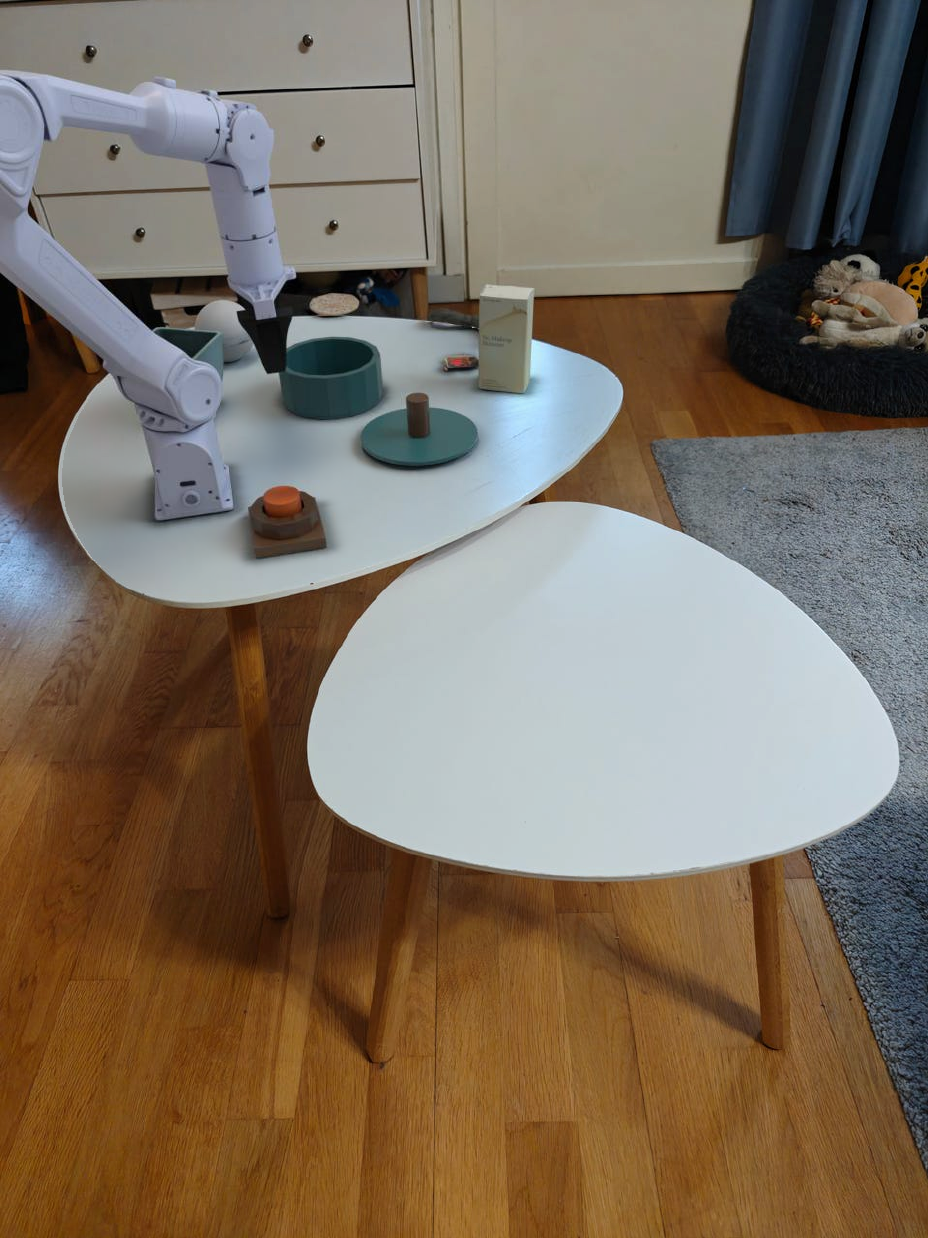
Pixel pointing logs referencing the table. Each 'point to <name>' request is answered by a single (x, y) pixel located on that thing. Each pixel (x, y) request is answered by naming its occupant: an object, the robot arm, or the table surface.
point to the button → (282, 501)
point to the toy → (454, 318)
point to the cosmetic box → (505, 338)
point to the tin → (331, 377)
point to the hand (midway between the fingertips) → (272, 356)
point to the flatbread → (334, 304)
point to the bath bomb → (225, 328)
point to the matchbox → (461, 361)
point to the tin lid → (419, 434)
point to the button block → (286, 529)
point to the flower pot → (196, 344)
